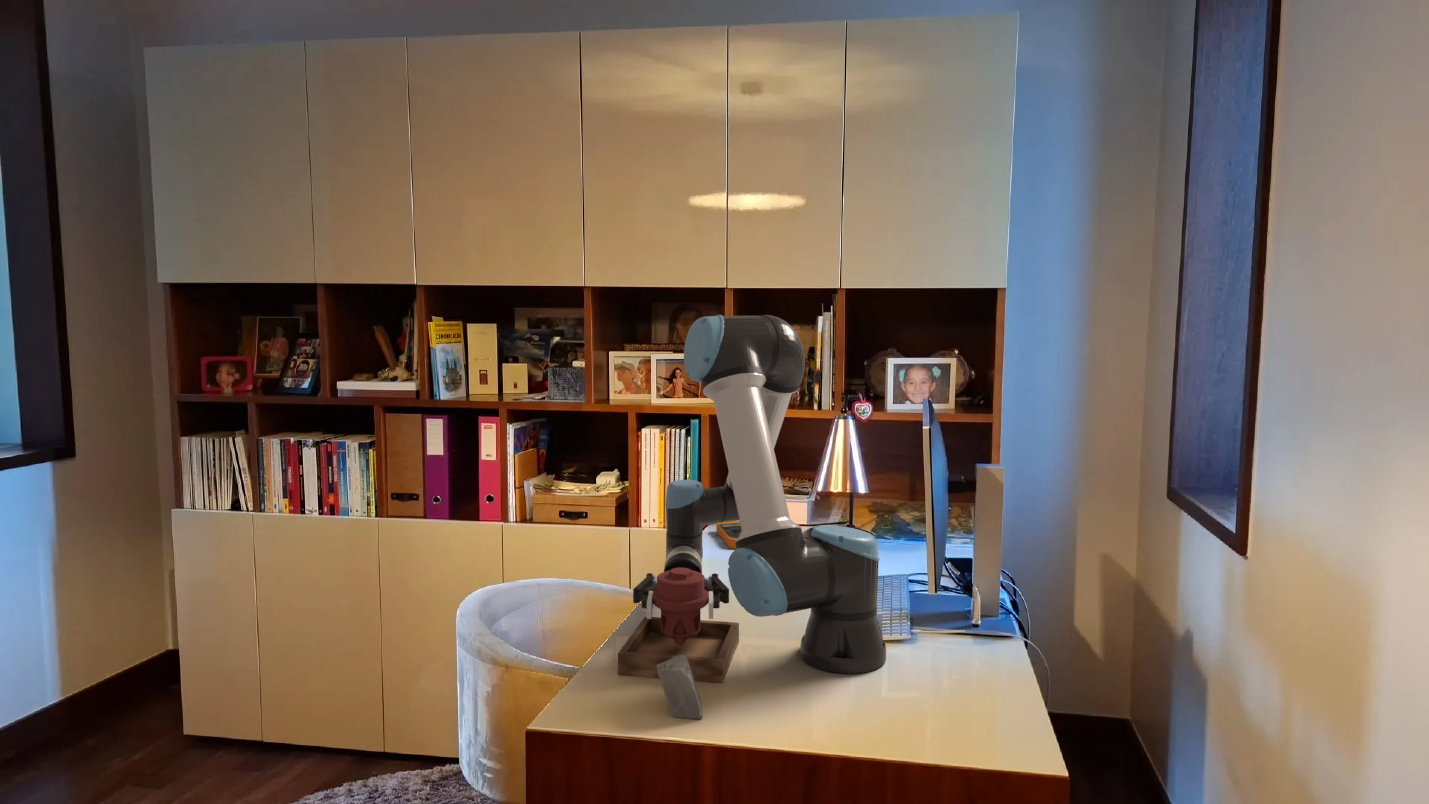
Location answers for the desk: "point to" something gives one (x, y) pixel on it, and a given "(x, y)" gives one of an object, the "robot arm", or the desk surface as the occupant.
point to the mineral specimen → (680, 688)
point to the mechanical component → (680, 602)
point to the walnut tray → (680, 650)
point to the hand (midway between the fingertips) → (680, 611)
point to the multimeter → (729, 532)
